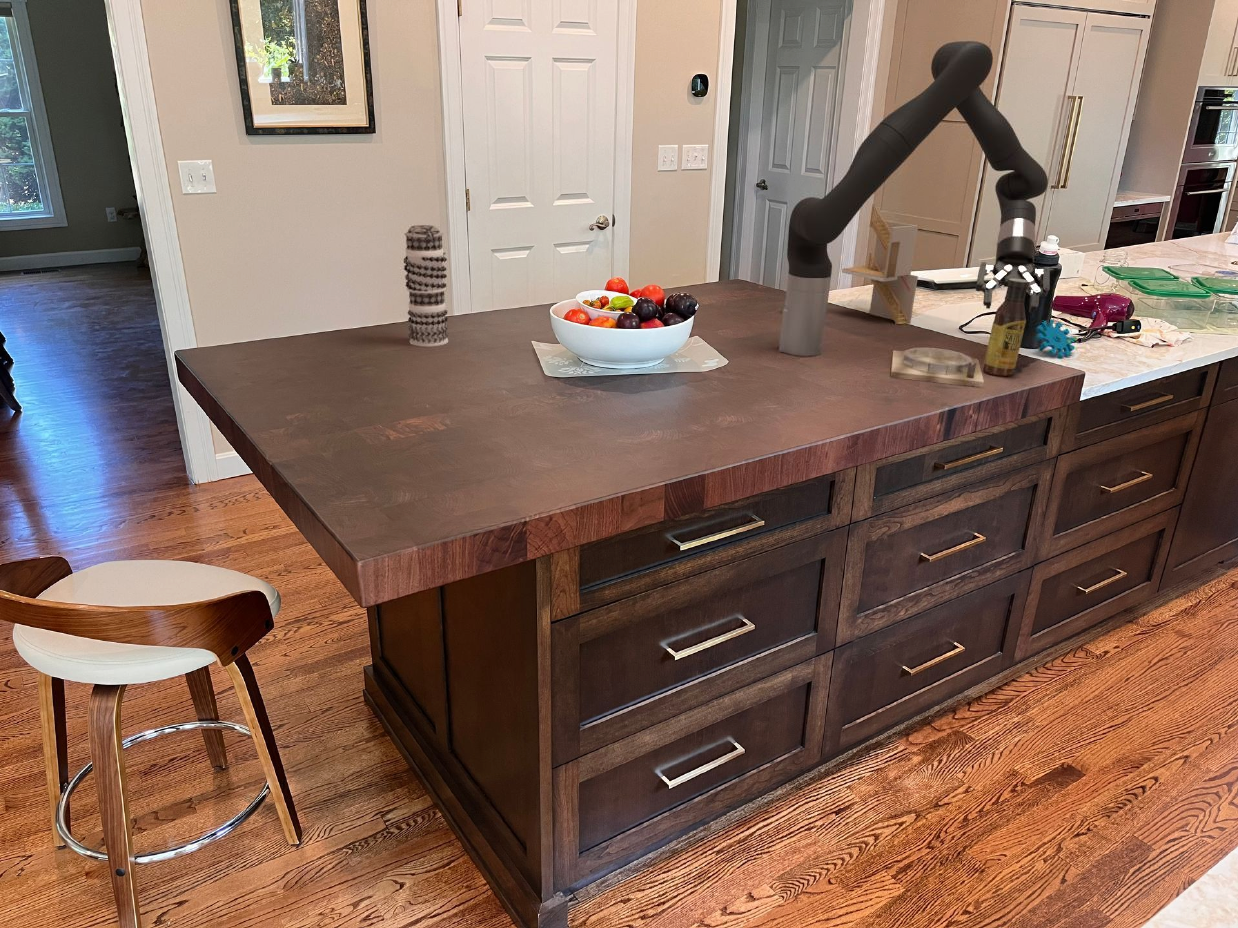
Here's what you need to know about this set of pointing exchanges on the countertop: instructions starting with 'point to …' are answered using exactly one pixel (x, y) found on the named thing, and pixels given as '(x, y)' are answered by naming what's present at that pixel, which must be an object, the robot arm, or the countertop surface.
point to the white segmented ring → (936, 368)
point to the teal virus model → (1055, 339)
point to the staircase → (891, 269)
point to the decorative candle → (426, 286)
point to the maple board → (907, 373)
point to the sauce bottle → (1007, 330)
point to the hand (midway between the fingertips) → (1010, 308)
